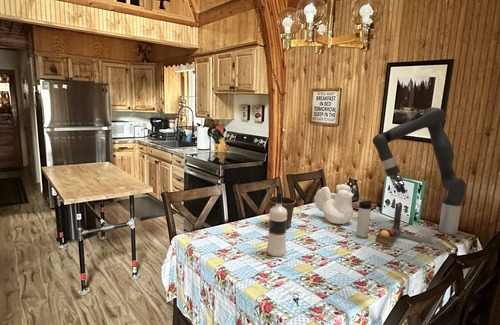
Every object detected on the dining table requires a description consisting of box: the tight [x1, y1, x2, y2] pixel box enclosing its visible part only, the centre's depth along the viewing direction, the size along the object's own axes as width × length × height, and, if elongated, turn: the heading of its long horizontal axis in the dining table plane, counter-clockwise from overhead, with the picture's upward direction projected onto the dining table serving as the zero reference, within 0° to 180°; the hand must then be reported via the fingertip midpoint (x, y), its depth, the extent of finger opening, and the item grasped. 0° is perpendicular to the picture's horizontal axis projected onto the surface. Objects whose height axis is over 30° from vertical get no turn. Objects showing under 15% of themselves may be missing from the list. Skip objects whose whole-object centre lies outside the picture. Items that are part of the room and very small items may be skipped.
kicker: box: [390, 202, 403, 237], centre depth 174 cm, size 14×5×18 cm, turn 154°
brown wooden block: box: [375, 227, 395, 246], centre depth 173 cm, size 12×8×4 cm
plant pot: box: [267, 195, 297, 230], centre depth 187 cm, size 16×16×16 cm
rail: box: [394, 232, 433, 245], centre depth 176 cm, size 5×23×1 cm, turn 64°
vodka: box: [266, 191, 287, 257], centre depth 150 cm, size 9×9×30 cm
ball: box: [380, 230, 390, 236], centre depth 173 cm, size 5×5×5 cm
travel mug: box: [355, 200, 373, 239], centre depth 175 cm, size 6×7×20 cm
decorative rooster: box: [314, 183, 355, 225], centre depth 199 cm, size 25×16×25 cm, turn 39°
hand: (401, 192), depth 184 cm, fingers open, 8 cm apart
